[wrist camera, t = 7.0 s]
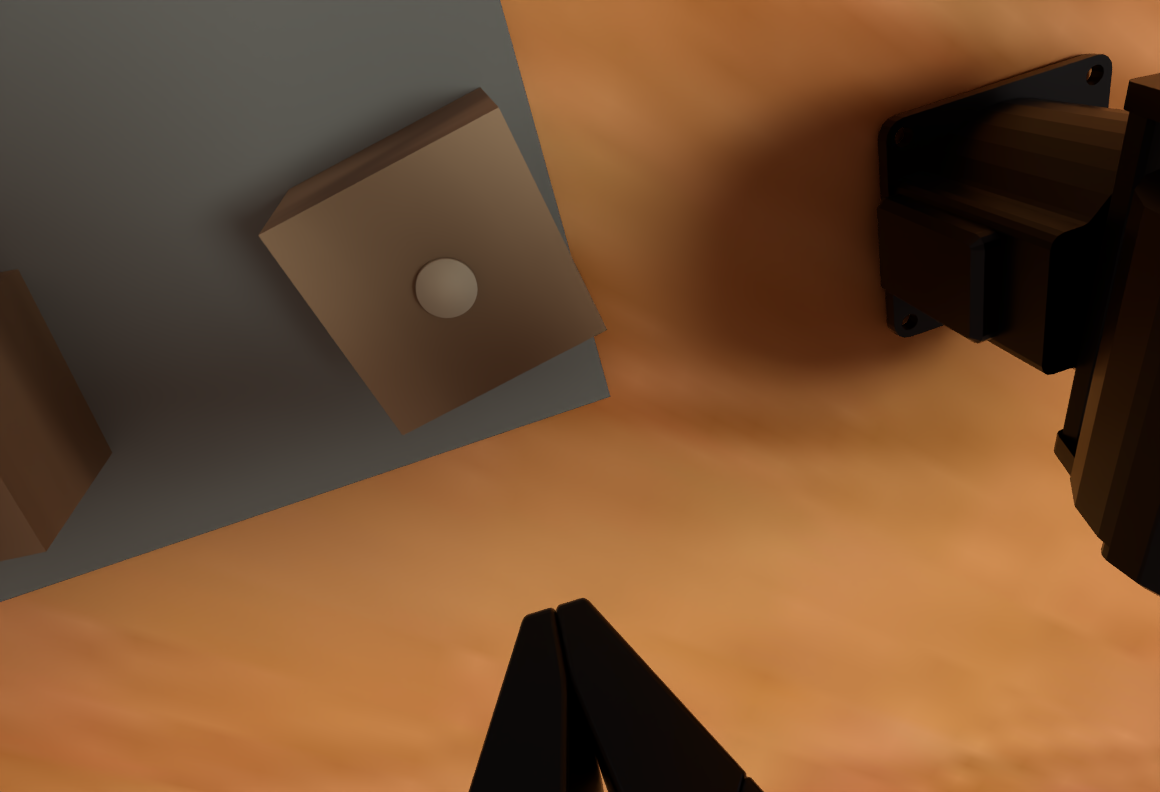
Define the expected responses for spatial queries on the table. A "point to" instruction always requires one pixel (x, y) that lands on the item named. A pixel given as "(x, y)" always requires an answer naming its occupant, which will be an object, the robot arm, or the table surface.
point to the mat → (225, 245)
